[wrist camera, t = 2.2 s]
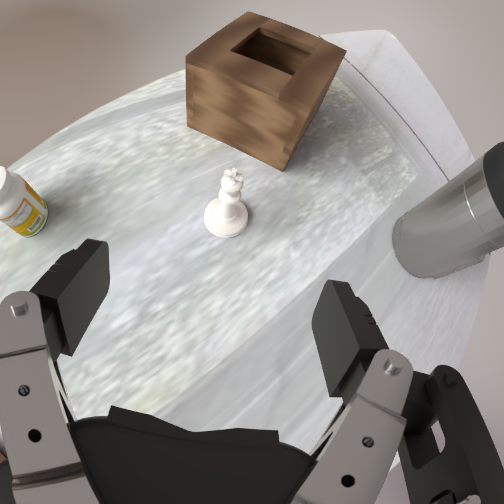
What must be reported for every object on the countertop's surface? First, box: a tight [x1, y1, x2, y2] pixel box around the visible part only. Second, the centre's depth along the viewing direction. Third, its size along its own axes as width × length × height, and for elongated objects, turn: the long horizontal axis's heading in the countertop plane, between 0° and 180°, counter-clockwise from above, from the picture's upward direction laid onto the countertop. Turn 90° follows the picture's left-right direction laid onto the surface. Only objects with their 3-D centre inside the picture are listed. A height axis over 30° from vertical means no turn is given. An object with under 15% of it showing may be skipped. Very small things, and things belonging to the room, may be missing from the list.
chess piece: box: [204, 168, 248, 238], centre depth 29 cm, size 5×5×10 cm
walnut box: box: [186, 12, 347, 171], centre depth 33 cm, size 14×14×12 cm
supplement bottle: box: [0, 166, 48, 237], centre depth 25 cm, size 5×5×10 cm
